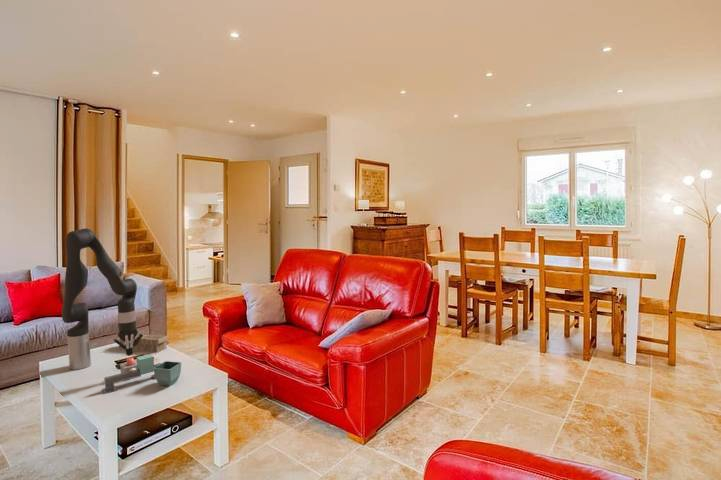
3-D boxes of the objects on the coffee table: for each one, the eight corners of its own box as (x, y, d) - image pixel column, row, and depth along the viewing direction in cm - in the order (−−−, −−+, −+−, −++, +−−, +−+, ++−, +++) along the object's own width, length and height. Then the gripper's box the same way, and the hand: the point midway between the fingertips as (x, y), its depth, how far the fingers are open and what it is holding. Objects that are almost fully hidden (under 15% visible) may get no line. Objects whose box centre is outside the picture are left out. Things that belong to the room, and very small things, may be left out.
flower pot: (170, 388, 188) (169, 369, 187) (153, 387, 189) (152, 368, 189) (182, 380, 196) (181, 362, 196) (166, 379, 198) (165, 360, 197)
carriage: (137, 371, 197) (136, 357, 196) (150, 367, 201) (149, 354, 200) (140, 374, 193) (139, 360, 192) (154, 370, 197) (153, 356, 197)
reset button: (125, 367, 201) (125, 359, 201) (133, 365, 204) (132, 357, 203) (127, 369, 199) (127, 360, 199) (135, 367, 201) (134, 359, 201)
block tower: (117, 350, 241) (159, 353, 233) (116, 336, 240) (157, 338, 232) (128, 346, 248) (169, 348, 241) (126, 332, 248) (167, 334, 240)
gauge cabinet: (121, 376, 202) (120, 364, 201) (136, 372, 207) (136, 360, 206) (125, 380, 196) (124, 368, 196) (141, 376, 201) (140, 364, 201)
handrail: (101, 390, 187) (101, 377, 186) (162, 373, 205) (161, 361, 204) (104, 393, 183) (103, 380, 182) (165, 376, 201) (165, 364, 201)
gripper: (113, 324, 192) (116, 360, 193) (144, 319, 201) (146, 353, 202) (109, 321, 197) (112, 357, 199) (139, 316, 206) (141, 350, 208)
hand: (129, 355), depth 200 cm, fingers closed
